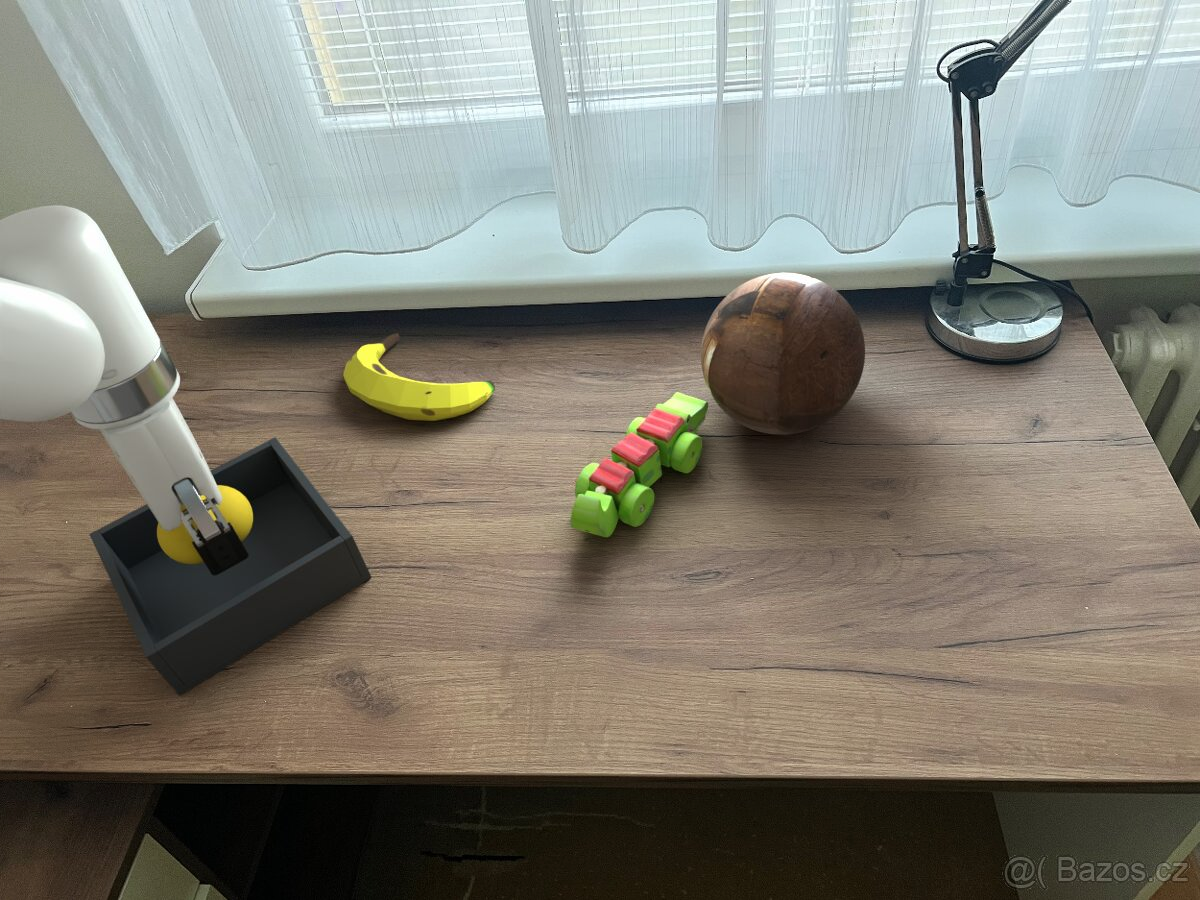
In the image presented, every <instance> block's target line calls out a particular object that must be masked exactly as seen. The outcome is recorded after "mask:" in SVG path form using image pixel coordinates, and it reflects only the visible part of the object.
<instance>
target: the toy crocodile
mask: <svg viewBox="0 0 1200 900" xmlns="http://www.w3.org/2000/svg"><path fill="white" fill-rule="evenodd" d="M708 409H709V401H706V400H703V399H699V398H696V397H693V396H691V395H687V394H684V393H681V392H679V391H677V392H675V393H674V394H673V395H672V397H671V398H670V399H669V400H668V399H667V400H666V401H665V402H663V404H662V403H657V404H656V406H655V408H653V410H652V411H650V413H649V414H648V415H647V416H646V417H645V418H644V417H641V416H638V417H635V418H634V419H633V420H632V421H631V423H630V424H629V426H628V428H627V430H626V434H625V436H624V438H622V439H621V440H620V441H619V442H618V443H617V444H615V446H613V447H612V449H610V451H611V452H610V453H611V454H610V455H611V459H608V458H606V457H604V458H602V460H601V461H600V463H597V462H591V463H589V464H587V465H586V466H585V467H584V468H583V469H582V470H581V472H580V473H579V475H578V478H577V480H576V483H575V488H574V495H575V497H576V498H575V501H574V503H573V505H572V510H571V514H570V527H571V529H575V530H577V531H581V532H586V533H589V534H591V535H596V536H599V537H603V538H609V537H610V536H612V534H613V532H614V531H615V529H616V526H617V524H618V522H619V520H620V521H621V522H623V523H624V524H627V525H629V526H631V527H634V528H637V527H640V526H641V525H643V524H644V523H645V522H646V521H647V520H648V518H649V517H650V514H651V512H652V510H653V508H654V504H655V492H654V490H653V489H652V488H650V487H651V486H652V485H653V484H654V483H655V482H656V481H658V480H659V479H660V478H661V477H662V475H663V472H662V471H663V470H662V466H664V467H666V468H670V467H671V468H672V469H673V470H675V471H677V472H680V473H682V474H689V473H691V472H692V471H693V470H694V469H695V467H696V466H697V465H698V462H699V460H700V458H701V455H702V452H703V439H702V438H701V436H699V435H698V434H696V433H697V431H698V430H699V428H700V427H701V426H702V425H703V424H704V422H705V420H706V416H707V412H708Z"/></svg>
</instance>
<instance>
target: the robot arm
mask: <svg viewBox="0 0 1200 900" xmlns="http://www.w3.org/2000/svg"><path fill="white" fill-rule="evenodd" d="M180 385H181V375H180V373H179V372H178V370H177V368H176V366H175V364H174V362H173V360H172V358H171V357H170V354H169V353H168V351H167V349H166V347H165V346H164V343H163V342H162V340H161V338H160V337H159V335H158V334H157V331H156V330H155V328H154V326H153V324H152V322H151V320H150V318H149V317H148V315H147V313H146V311H145V309H144V307H143V305H142V303H141V302H140V300H139V297H138V296H137V293H136V292H135V290H134V289H133V286H132V285H131V283H130V281H129V280H128V277H127V275H126V274H125V271H124V270H123V268H122V266H121V264H120V262H119V261H118V259H117V257H116V255H115V253H114V252H113V249H112V248H111V246H110V244H109V242H108V240H107V238H106V237H105V235H104V233H103V231H102V230H101V228H100V227H99V225H98V224H97V222H95V220H94V219H93V218H92V217H91V216H89V214H87V213H86V212H84V211H82V210H80V209H78V208H75V207H72V206H67V205H57V204H56V205H54V204H53V205H45V206H43V205H42V206H38V207H32V208H29V209H25V210H21V211H19V212H15V213H13V214H10V215H8V216H6V217H4V218H1V219H0V420H5V421H14V422H23V423H24V422H26V423H38V422H45V421H51V420H55V419H58V418H60V417H62V416H63V417H64V416H65V415H68V414H71V416H72V417H73V420H75V421H76V422H77V424H78V425H80V426H82V427H84V428H87V429H91V430H99V431H100V432H101V434H102V437H103V438H104V439H105V441H106V443H107V445H108V446H109V448H110V450H111V451H112V453H113V454H114V456H115V457H116V459H117V461H118V462H119V464H120V465H121V467H122V468H123V470H124V471H125V473H126V474H127V476H128V477H129V479H130V480H131V481H132V483H133V485H134V486H135V488H136V490H137V492H138V493H139V494H140V496H141V497H142V499H143V501H144V502H145V503H146V504H147V505H148V507H149V508H150V510H151V511H152V513H153V514H154V516H155V517H156V519H157V521H158V522H159V524H160V525H161V527H162V528H163V529H164V530H167V531H172V530H173V529H175V528H177V527H179V526H181V521H182V522H183V524H184V525H185V527H186V529H187V530H188V532H189V533H190V535H191V537H192V538H193V540H194V541H193V542H192V544H193V546H194V547H195V549H196V551H197V552H198V554H199V555H200V557H201V558H202V560H203V562H204V563H205V565H206V566H207V568H208V569H209V571H210V572H211V574H212V575H214V576H215V575H218V574H220V573H222V572H224V571H226V570H227V569H229V568H231V567H233V566H234V565H236V564H238V563H240V562H242V561H243V560H245V559H247V558H248V552H247V551H246V549H245V547H244V546H243V544H242V542H241V540H240V539H239V537H238V535H237V533H236V532H235V530H234V528H233V526H232V525H231V523H230V522H229V523H227V522H226V521H225V519H224V517H223V515H222V514H221V512H220V510H219V509H218V507H217V505H216V504H218V506H219V505H220V504H221V502H222V495H221V493H220V491H219V489H218V486H217V484H216V482H215V480H214V478H213V475H212V473H211V469H210V467H209V465H208V462H207V460H206V459H205V456H204V454H203V452H202V451H201V448H200V446H199V445H198V443H197V441H196V438H195V436H194V435H193V433H192V431H191V430H190V429H191V428H190V427H189V426H188V423H187V422H186V420H185V418H184V416H183V414H182V412H181V410H180V409H179V407H178V405H177V404H176V402H175V400H174V397H175V395H176V394H177V392H178V390H179V388H180ZM202 495H204V496H205V497H206V499H204V500H201V498H200V496H202ZM182 505H185V507H186V509H185V510H183V511H181V506H182ZM210 509H211V511H212V513H213V514H214V516H215V518H216V519H217V520H215V521H214V520H213V518H212V516H211V515H210V513H209V511H208V510H210ZM191 519H193V520H194V522H195V523H196V525H197V527H198V528H199V529H198V530H197V531H196V529H195V528H194V526H193V525H192V523H191V521H190V520H191Z"/></svg>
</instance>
